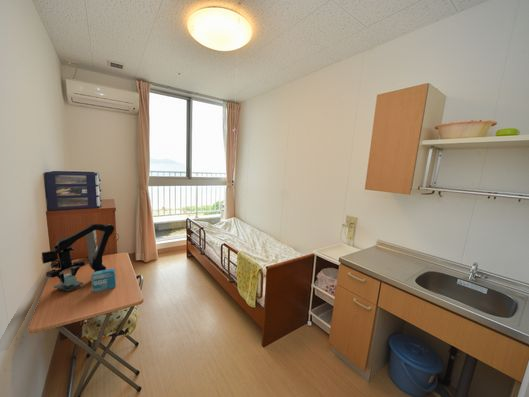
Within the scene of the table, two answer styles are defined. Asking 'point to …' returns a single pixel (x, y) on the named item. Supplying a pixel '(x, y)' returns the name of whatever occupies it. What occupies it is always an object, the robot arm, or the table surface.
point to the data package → (103, 280)
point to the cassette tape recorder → (91, 244)
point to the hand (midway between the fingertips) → (68, 280)
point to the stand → (68, 288)
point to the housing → (69, 279)
